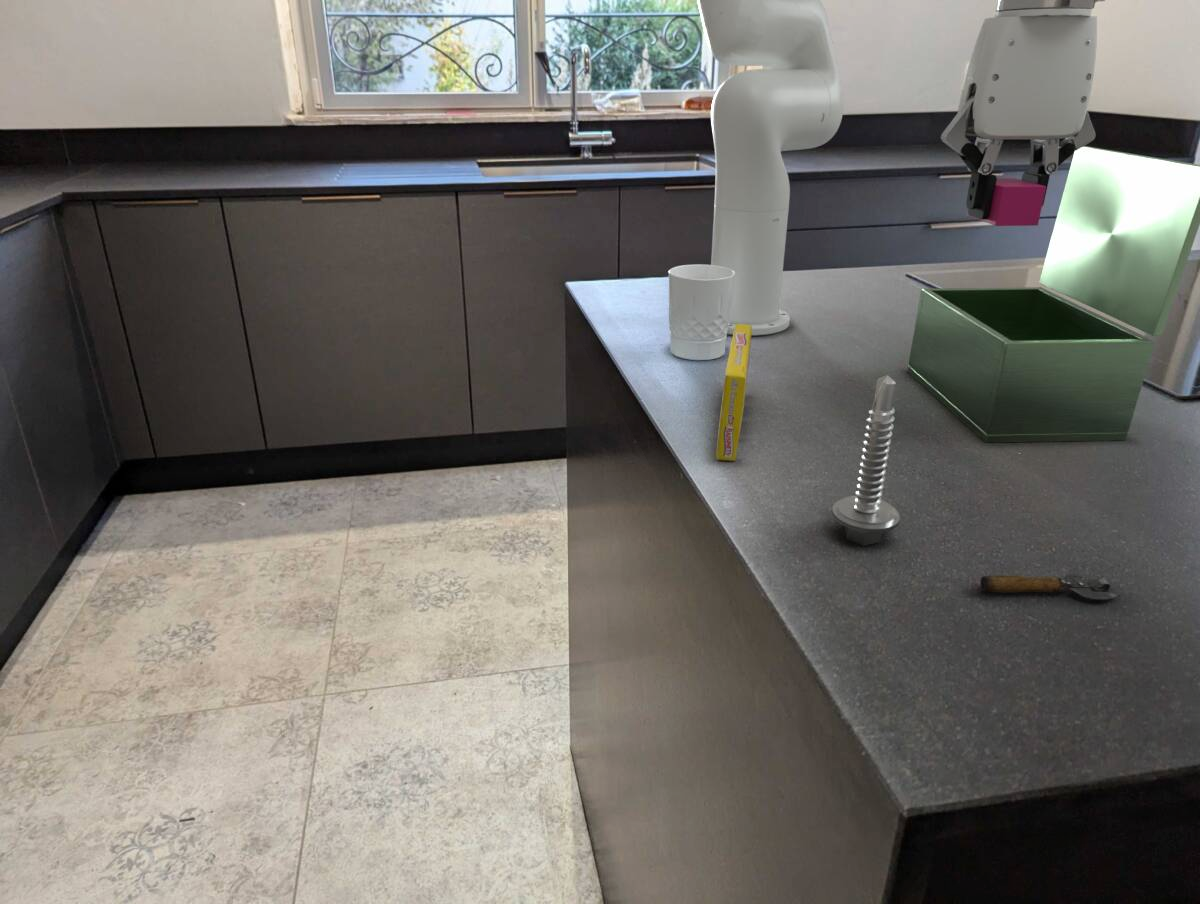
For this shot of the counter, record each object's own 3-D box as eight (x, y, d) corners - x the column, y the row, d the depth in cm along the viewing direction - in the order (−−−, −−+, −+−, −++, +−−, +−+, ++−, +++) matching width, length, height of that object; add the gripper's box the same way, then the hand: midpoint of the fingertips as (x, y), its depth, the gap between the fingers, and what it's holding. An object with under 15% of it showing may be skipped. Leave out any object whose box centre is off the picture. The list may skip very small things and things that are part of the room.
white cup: (657, 358, 100) (660, 276, 95) (675, 339, 106) (678, 262, 102) (722, 365, 97) (727, 282, 93) (735, 346, 104) (741, 267, 100)
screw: (880, 561, 59) (818, 538, 62) (905, 534, 63) (845, 514, 65) (909, 392, 54) (839, 376, 56) (935, 373, 57) (868, 358, 60)
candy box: (739, 463, 74) (746, 376, 70) (715, 461, 74) (720, 374, 71) (746, 397, 88) (752, 323, 84) (726, 396, 88) (731, 321, 85)
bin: (985, 442, 78) (1007, 343, 73) (907, 371, 95) (921, 288, 91) (1125, 440, 78) (1155, 341, 74) (1021, 370, 96) (1041, 287, 92)
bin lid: (1210, 167, 68) (1275, 170, 68) (1075, 145, 85) (1127, 147, 85) (1152, 336, 74) (1212, 337, 74) (1038, 282, 91) (1087, 284, 92)
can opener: (983, 595, 55) (986, 581, 55) (973, 575, 57) (976, 561, 57) (1125, 605, 54) (1131, 591, 54) (1110, 585, 56) (1115, 571, 56)
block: (995, 226, 76) (1003, 186, 75) (967, 215, 81) (973, 178, 80) (1038, 225, 76) (1046, 186, 75) (1006, 214, 82) (1014, 178, 80)
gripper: (1113, 2, 75) (1066, 209, 82) (932, 2, 74) (901, 211, 82) (1168, -5, 68) (1110, 222, 76) (968, -4, 67) (931, 224, 75)
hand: (1002, 214), depth 79 cm, fingers closed on block, 4 cm apart
